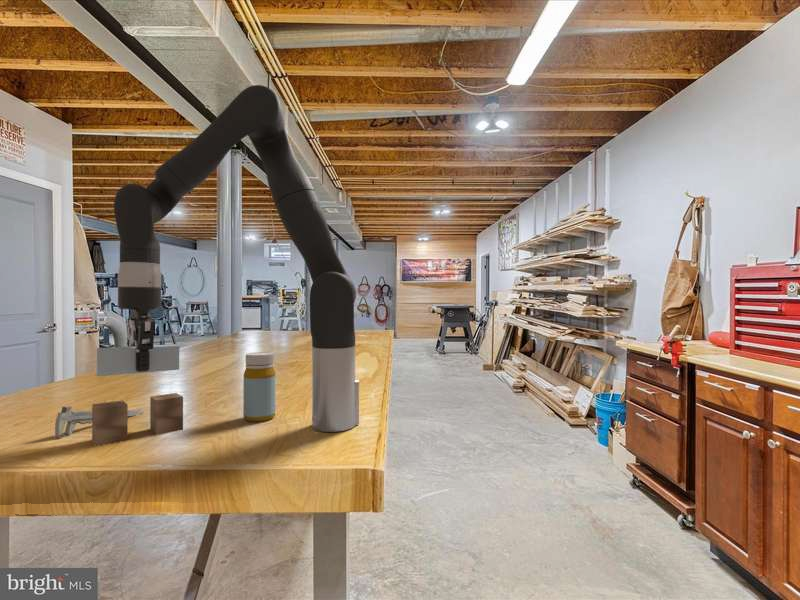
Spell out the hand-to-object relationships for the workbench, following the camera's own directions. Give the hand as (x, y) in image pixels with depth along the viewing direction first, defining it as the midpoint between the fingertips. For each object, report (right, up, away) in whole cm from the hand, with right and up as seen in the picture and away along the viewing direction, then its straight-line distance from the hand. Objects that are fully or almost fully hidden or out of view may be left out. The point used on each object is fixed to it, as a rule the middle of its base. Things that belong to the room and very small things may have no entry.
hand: (139, 369), depth 85 cm
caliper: (-12, -14, +7) cm, 20 cm away
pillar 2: (+4, -13, +3) cm, 14 cm away
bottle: (+21, -13, +12) cm, 27 cm away
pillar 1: (-4, -13, -4) cm, 14 cm away
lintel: (0, 0, 0) cm, 1 cm away
